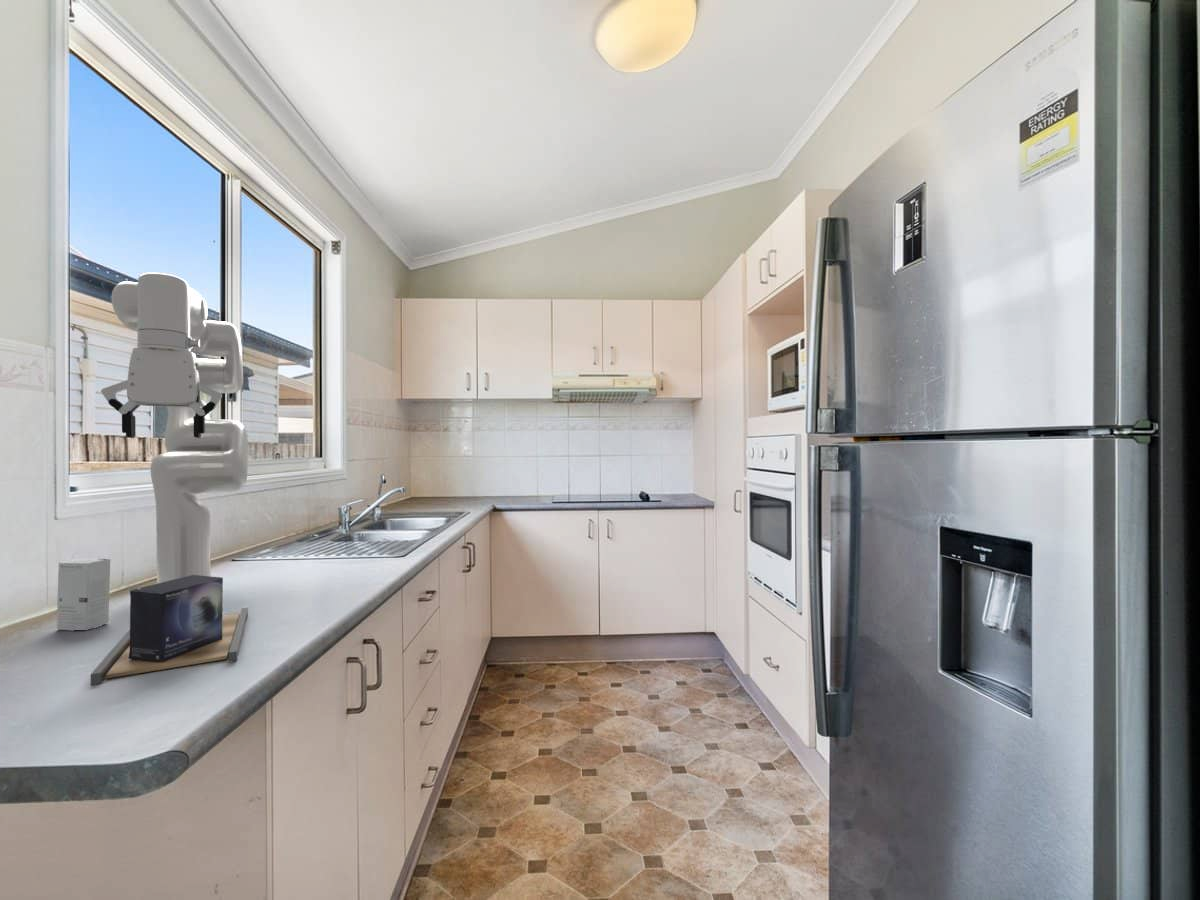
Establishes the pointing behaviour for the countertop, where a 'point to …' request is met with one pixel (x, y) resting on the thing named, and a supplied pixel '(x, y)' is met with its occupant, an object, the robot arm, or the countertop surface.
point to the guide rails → (124, 643)
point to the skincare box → (83, 593)
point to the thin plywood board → (199, 655)
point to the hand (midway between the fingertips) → (164, 437)
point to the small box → (175, 617)
